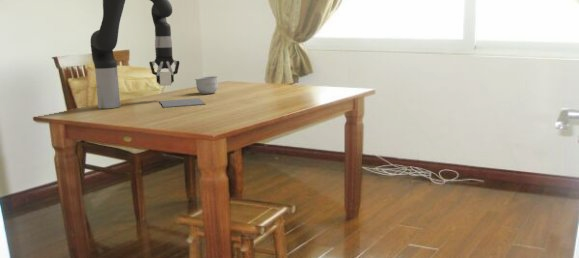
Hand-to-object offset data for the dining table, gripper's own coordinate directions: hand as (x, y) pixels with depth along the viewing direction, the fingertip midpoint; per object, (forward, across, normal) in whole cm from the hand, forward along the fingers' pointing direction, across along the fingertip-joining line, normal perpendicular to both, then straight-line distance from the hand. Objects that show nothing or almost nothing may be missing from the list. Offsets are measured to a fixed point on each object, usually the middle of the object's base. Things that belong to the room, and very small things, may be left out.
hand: (165, 83), depth 277 cm
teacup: (+7, +23, +14) cm, 28 cm away
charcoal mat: (+8, +6, -14) cm, 17 cm away
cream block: (+1, 0, 0) cm, 1 cm away
